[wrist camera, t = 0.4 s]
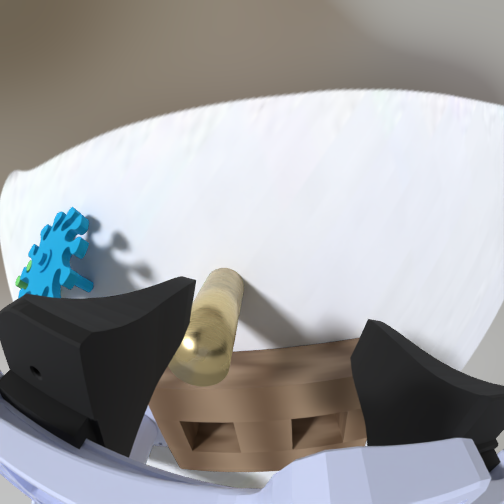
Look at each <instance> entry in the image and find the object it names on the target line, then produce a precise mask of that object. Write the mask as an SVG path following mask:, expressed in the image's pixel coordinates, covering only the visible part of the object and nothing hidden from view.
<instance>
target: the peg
mask: <svg viewBox="0 0 504 504" xmlns="http://www.w3.org/2000/svg"><path fill="white" fill-rule="evenodd" d="M243 292H244V283H243V280H242V278H241V276H240V275H239V274H238V273H237V272H235V271H234V270H231V269H228V268H219V269H216V270H214V271H213V272H211V273H210V274H209V276H208V277H207V279H206V281H205V282H204V284H203V286H202V288H201V289H200V291H199V293H198V295H197V296H196V298H195V300H194V301H193V303H192V310H191V317H190V324H189V326H188V329H187V331H186V334H185V336H184V338H183V341H182V343H181V345H180V346H179V348H178V350H177V351H176V353H175V355H174V356H173V358H172V360H171V362H170V363H169V365H168V367H169V368H170V370H171V371H172V372H173V374H174V375H175V376H176V377H178V378H179V379H180V380H182V381H184V382H186V383H188V384H191V385H194V386H201V387H206V386H212V385H215V384H218V383H219V382H221V381H222V380H223V379H224V378H225V377H226V376H227V374H228V372H229V368H230V362H231V357H232V351H233V346H234V341H235V335H236V330H237V324H238V319H239V314H240V308H241V303H242V297H243Z"/></svg>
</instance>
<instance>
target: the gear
mask: <svg viewBox="0 0 504 504" xmlns="http://www.w3.org/2000/svg"><path fill="white" fill-rule="evenodd" d="M88 227H89V220H88V219H87V218H85V217H84V216H83V215H82V214H81V213H80V212H78V211H77V210H76V209H75V208H73V207H72V208H71V209H70V210H69V211H68V213H67V215H66V214H65V213H63V212H59V213H57V215H56V217H55V219H54V223H53V226H52V227H51V226H50V225H48V224H47V225H46V226H45V227H44V228H43V229H42V231H41V234H40V235H41V242H40V246H39V247H38V246H37V245H35V244H34V245H33V246H32V248H31V250H30V251H29V254H28V256H29V257H30V258H31V259H32V261H31V260H30V261H29V263H28V265H27V267H24V269H23V271H22V274H21V276H18V278H17V280H16V286H17V287H19V288H21V290H20V291H19V297H18V299H19V298H20V297H22V296H23V295H25V294H32V295H39V296H46V297H53V298H61V295H60V293H61V290H60V289H61V285H62V286H64V287H66V288H68V289H70V290H71V289H72V288H73V286H74V285H75V286H77V287H79V288H81V289H83V290H85V291H87V292H91V291H92V289H93V282H91V281H90V280H88V279H86V278H84V277H83V276H81V275H79V274H78V273H77V272H75V271H74V270H72V269H71V267H70V258H71V256H72V254H73V255H75V256H76V257H78V258H79V259H82V258H84V256H85V254H86V252H87V249H88V246H89V243H88V242H87V241H85V240H84V239H83V238H81V237H77V238H76V239H75V240H73V239H74V237H75V236H76V235H77V234H80V235H83V234H85V233H86V232H87V231H88Z"/></svg>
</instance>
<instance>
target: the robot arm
mask: <svg viewBox="0 0 504 504" xmlns="http://www.w3.org/2000/svg"><path fill="white" fill-rule="evenodd" d="M195 284H196V280H194V279H190V278H186V277H182V276H181V277H177V278H174V279H171V280H168V281H165V282H162V283H160V284H157V285H154V286H151V287H148V288H144V289H141V290H138V291H134V292H131V293H126V294H122V295H116V296H110V297H101V298H88V299H67V298H53V297H46V296H39V295H32V294H25V295H23V296H22V297H20V298H19V299H17V300H15V301H14V302H12V303H11V304H9V305H8V306H6V307H5V308H3V309H2V310H1V311H0V341H1V344H2V347H3V350H4V354H5V357H6V360H7V362H8V365H9V368H10V370H9V371H8V372H7V373H6V374H5V375H3V373H2V372H1V371H0V474H1V475H2V476H4V478H6V479H7V480H8V481H9V482H10V483H12V484H13V485H14V486H15V487H17V488H18V489H19V490H20V491H21V492H23V493H24V494H25V495H27V496H28V497H29V498H31V499H32V502H31V504H504V449H503V450H502V451H500V452H499V453H498V454H496V452H495V450H494V449H495V448H496V447H497V446H498V442H497V440H496V438H497V437H498V435H499V434H500V433H501V432H502V431H503V430H504V386H501V385H497V384H492V383H489V382H486V381H483V380H479V379H477V378H474V377H471V376H468V375H466V374H464V373H462V372H460V371H457V370H455V369H453V368H451V367H449V366H448V365H446V364H444V363H442V362H441V361H439V360H437V359H435V358H434V357H432V356H431V355H429V354H428V353H426V352H425V351H423V350H422V349H420V348H419V347H418V346H416V345H415V344H414V343H412V342H411V341H409V340H408V339H407V338H405V337H404V336H403V335H401V334H400V333H399V332H397V331H396V330H394V329H393V328H391V327H390V326H388V325H387V324H385V323H383V322H381V321H376V320H371V319H368V321H367V323H366V325H365V328H364V330H363V332H362V334H361V336H360V338H359V341H358V343H357V345H356V347H355V349H354V351H353V353H352V355H351V357H350V360H351V369H352V376H353V380H354V384H355V388H356V391H357V395H358V398H359V402H360V405H361V409H362V413H363V416H364V421H365V426H366V435H367V445H368V446H356V447H349V448H340V449H331V450H324V451H321V452H318V453H315V454H312V455H309V456H305V457H302V458H299V459H296V460H294V461H293V462H292V463H290V464H289V465H287V466H286V467H284V468H283V469H282V470H280V471H279V472H277V473H276V474H274V475H273V476H272V477H271V479H270V480H269V482H268V483H267V484H266V486H265V487H264V488H263V489H257V488H234V487H228V486H223V485H218V484H213V483H209V482H204V481H200V480H196V479H192V478H188V477H184V476H181V475H177V474H174V473H171V472H167V471H164V470H161V469H158V468H155V467H152V466H149V465H146V462H147V460H148V457H149V455H150V452H151V449H152V447H153V445H157V446H165V447H167V446H168V445H167V443H166V441H165V439H164V437H163V435H162V433H161V431H160V429H159V427H158V425H157V423H156V421H155V419H154V417H153V414H152V412H151V410H150V408H149V406H148V404H149V402H150V400H151V397H152V395H153V392H154V390H155V388H156V386H157V384H158V382H159V380H160V378H161V377H162V375H163V373H164V372H165V370H166V368H167V367H168V365H169V363H170V362H171V360H172V358H173V356H174V355H175V353H176V351H177V350H178V348H179V346H180V345H181V343H182V341H183V338H184V336H185V334H186V331H187V329H188V326H189V324H190V317H191V310H192V303H193V297H194V291H195Z"/></svg>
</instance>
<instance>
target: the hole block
mask: <svg viewBox="0 0 504 504" xmlns="http://www.w3.org/2000/svg"><path fill="white" fill-rule="evenodd" d="M358 341H359V338H355V339H349V340H342V341H336V342H329V343H321V344H314V345H306V346H297V347H288V348H277V349H266V350H253V351H237V352H232V357H231V362H230V368H229V372H228V374H227V376H226V377H225V378H224V379H223V380H222V381H221V382H219V383H218V384H215V385H212V386H206V387H201V386H194V385H191V384H188V383H186V382H184V381H182V380H180V379H179V378H178V377H176V376H175V375H174V374H173V372H172V371H171V370H170V368H169V367H167V368H166V370H165V372H164V373H163V375H162V377H161V378H160V380H159V382H158V384H157V386H156V388H155V390H154V392H153V395H152V397H151V400H150V402H149V404H148V406H149V408H150V410H151V412H152V414H153V417H154V419H155V421H156V423H157V425H158V427H159V429H160V431H161V433H162V435H163V437H164V439H165V441H166V443H167V445H168V447H169V449H170V450H171V452H172V454H173V456H174V458H175V460H176V461H177V463H178V465H179V467H180V468H181V469H189V470H201V471H218V472H264V471H280V470H282V469H283V468H284V467H286V466H287V465H289V464H290V463H292V462H293V461H294V460H296V459H299V458H302V457H305V456H309V455H312V454H315V453H318V452H321V451H324V450H331V449H340V448H349V447H356V446H365V443H366V439H367V435H366V426H365V421H364V416H363V413H362V409H361V405H360V402H359V398H358V395H357V391H356V388H355V384H354V380H353V376H352V369H351V360H350V357H351V355H352V353H353V351H354V349H355V347H356V345H357V343H358Z"/></svg>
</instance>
